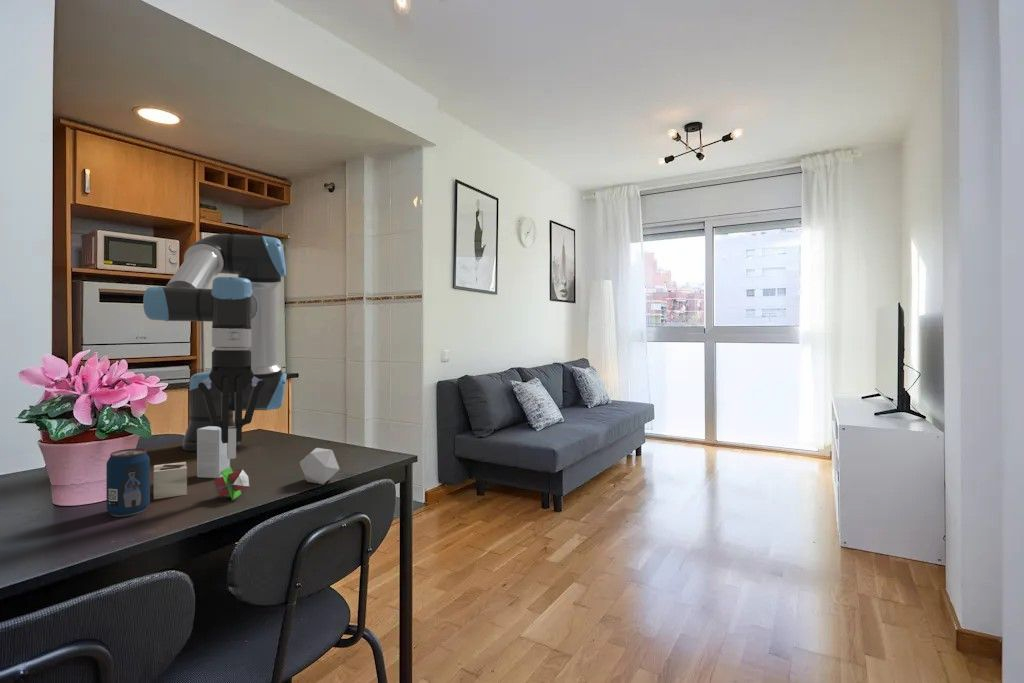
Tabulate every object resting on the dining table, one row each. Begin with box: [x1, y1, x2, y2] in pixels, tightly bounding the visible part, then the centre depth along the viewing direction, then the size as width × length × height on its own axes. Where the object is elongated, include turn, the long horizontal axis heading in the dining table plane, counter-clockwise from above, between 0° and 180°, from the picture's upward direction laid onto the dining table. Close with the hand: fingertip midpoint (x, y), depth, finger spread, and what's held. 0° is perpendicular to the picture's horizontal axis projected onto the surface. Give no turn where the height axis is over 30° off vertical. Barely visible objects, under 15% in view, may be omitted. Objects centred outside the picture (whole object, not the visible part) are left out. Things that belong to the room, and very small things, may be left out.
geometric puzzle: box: [212, 466, 251, 501], centre depth 111 cm, size 7×7×8 cm
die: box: [298, 447, 341, 485], centre depth 123 cm, size 8×9×10 cm
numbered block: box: [153, 461, 188, 500], centre depth 113 cm, size 6×6×6 cm
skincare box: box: [196, 426, 231, 479], centre depth 126 cm, size 6×4×12 cm
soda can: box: [105, 448, 151, 518], centre depth 102 cm, size 7×7×12 cm
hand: (231, 457), depth 111 cm, fingers closed
